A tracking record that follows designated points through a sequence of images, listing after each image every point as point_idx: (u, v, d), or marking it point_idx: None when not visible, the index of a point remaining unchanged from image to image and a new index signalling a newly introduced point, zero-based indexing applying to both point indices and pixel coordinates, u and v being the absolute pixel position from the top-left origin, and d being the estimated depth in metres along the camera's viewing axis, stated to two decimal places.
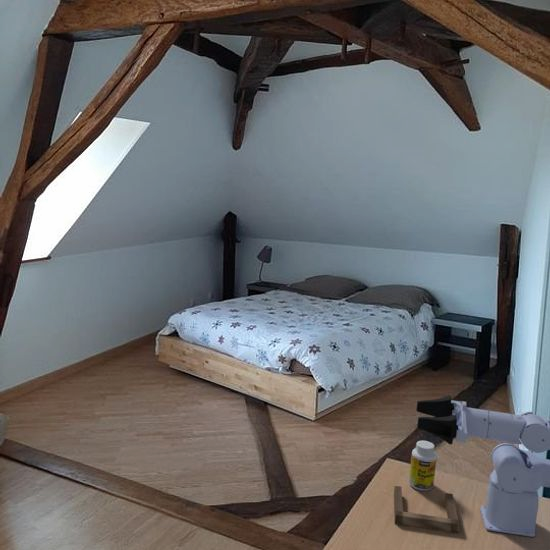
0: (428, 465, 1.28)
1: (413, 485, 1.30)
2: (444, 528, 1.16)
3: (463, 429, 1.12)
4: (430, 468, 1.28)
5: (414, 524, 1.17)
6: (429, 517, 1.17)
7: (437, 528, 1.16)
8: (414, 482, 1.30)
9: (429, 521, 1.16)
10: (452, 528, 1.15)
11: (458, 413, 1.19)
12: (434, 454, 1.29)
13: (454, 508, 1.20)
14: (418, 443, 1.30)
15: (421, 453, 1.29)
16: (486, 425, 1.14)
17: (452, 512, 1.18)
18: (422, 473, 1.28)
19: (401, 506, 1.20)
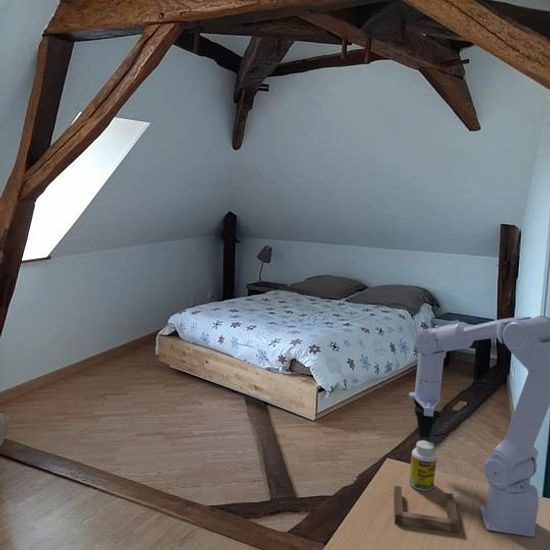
0: (428, 465, 1.28)
1: (413, 485, 1.30)
2: (444, 528, 1.16)
3: (423, 408, 1.29)
4: (430, 468, 1.28)
5: (414, 524, 1.17)
6: (429, 517, 1.17)
7: (437, 528, 1.16)
8: (414, 482, 1.30)
9: (429, 521, 1.16)
10: (452, 528, 1.15)
11: None
12: (434, 454, 1.29)
13: (454, 508, 1.20)
14: (418, 443, 1.30)
15: (421, 453, 1.29)
16: (424, 382, 1.32)
17: (452, 512, 1.18)
18: (422, 473, 1.28)
19: (401, 506, 1.20)
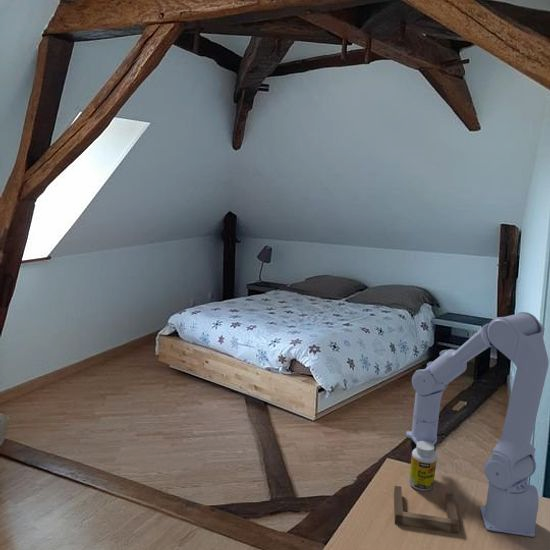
0: (428, 467, 1.27)
1: (413, 485, 1.30)
2: (444, 528, 1.16)
3: None
4: (430, 469, 1.28)
5: (414, 524, 1.17)
6: (429, 517, 1.17)
7: (437, 528, 1.16)
8: (414, 482, 1.30)
9: (429, 521, 1.16)
10: (452, 528, 1.15)
11: None
12: (434, 455, 1.29)
13: (454, 508, 1.20)
14: (418, 444, 1.29)
15: None
16: (421, 423, 1.31)
17: (452, 512, 1.18)
18: (423, 474, 1.28)
19: (401, 506, 1.20)
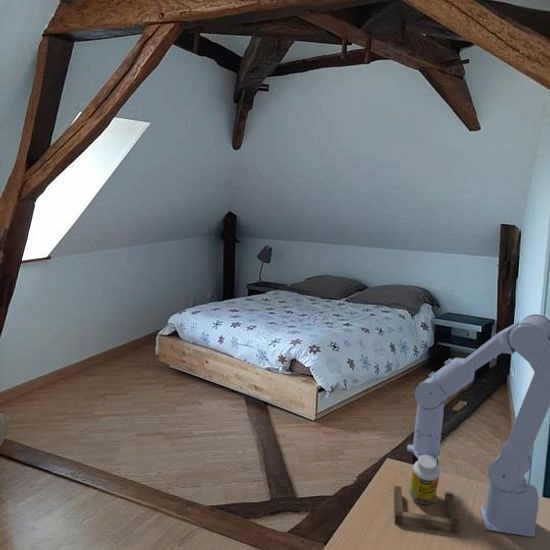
0: (429, 484, 1.21)
1: (414, 498, 1.25)
2: (444, 528, 1.16)
3: None
4: (432, 486, 1.21)
5: (414, 524, 1.17)
6: (429, 517, 1.17)
7: (437, 528, 1.16)
8: (415, 496, 1.24)
9: (429, 521, 1.16)
10: (452, 528, 1.15)
11: None
12: (437, 470, 1.22)
13: (454, 508, 1.20)
14: (420, 460, 1.22)
15: (423, 471, 1.21)
16: (423, 436, 1.25)
17: (452, 512, 1.18)
18: (424, 489, 1.22)
19: (401, 506, 1.20)
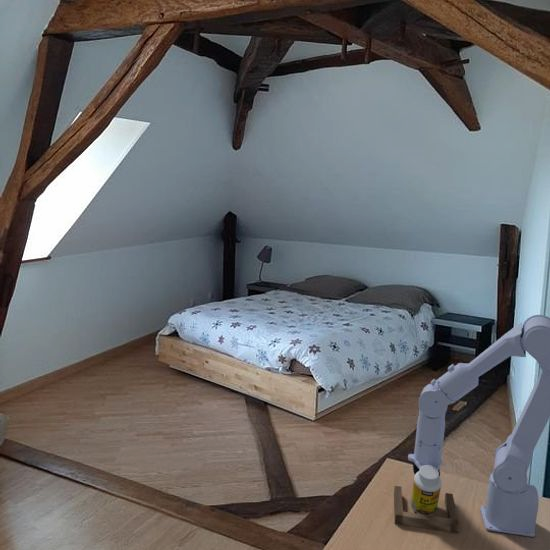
0: (431, 495, 1.17)
1: (415, 510, 1.20)
2: (444, 528, 1.16)
3: None
4: (433, 497, 1.17)
5: (414, 524, 1.17)
6: (429, 517, 1.17)
7: (437, 528, 1.16)
8: (416, 507, 1.20)
9: (429, 521, 1.16)
10: (452, 528, 1.15)
11: None
12: (438, 481, 1.18)
13: (454, 508, 1.20)
14: (421, 470, 1.18)
15: (424, 482, 1.17)
16: (425, 446, 1.20)
17: (452, 512, 1.18)
18: (425, 501, 1.18)
19: (401, 506, 1.20)
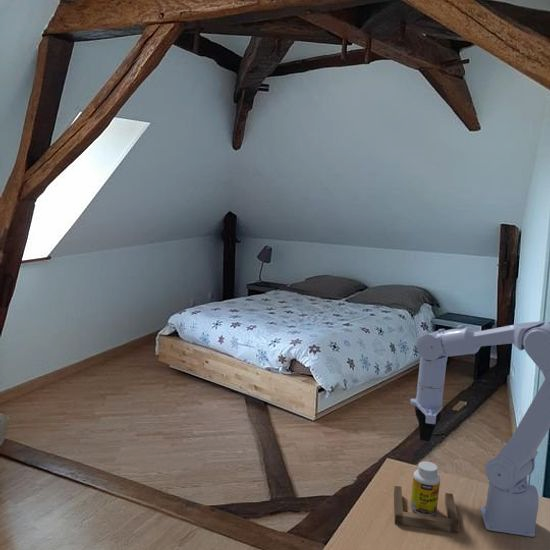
0: (430, 489, 1.19)
1: (415, 510, 1.21)
2: (444, 528, 1.16)
3: (425, 415, 1.24)
4: (433, 492, 1.19)
5: (414, 524, 1.17)
6: (429, 517, 1.17)
7: (437, 528, 1.16)
8: (415, 506, 1.20)
9: (429, 521, 1.16)
10: (452, 528, 1.15)
11: None
12: (437, 477, 1.20)
13: (454, 508, 1.20)
14: (420, 464, 1.21)
15: (423, 476, 1.19)
16: (426, 389, 1.27)
17: (452, 512, 1.18)
18: (425, 497, 1.19)
19: (401, 506, 1.20)
